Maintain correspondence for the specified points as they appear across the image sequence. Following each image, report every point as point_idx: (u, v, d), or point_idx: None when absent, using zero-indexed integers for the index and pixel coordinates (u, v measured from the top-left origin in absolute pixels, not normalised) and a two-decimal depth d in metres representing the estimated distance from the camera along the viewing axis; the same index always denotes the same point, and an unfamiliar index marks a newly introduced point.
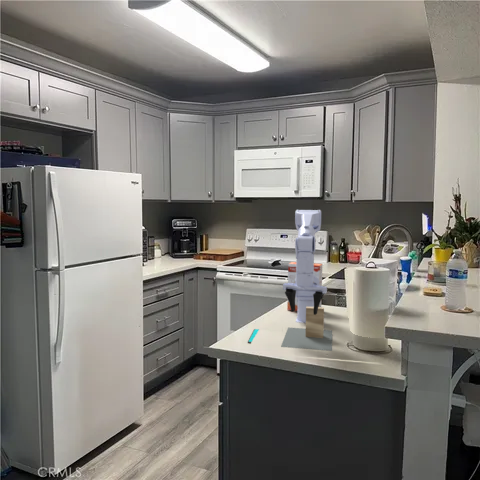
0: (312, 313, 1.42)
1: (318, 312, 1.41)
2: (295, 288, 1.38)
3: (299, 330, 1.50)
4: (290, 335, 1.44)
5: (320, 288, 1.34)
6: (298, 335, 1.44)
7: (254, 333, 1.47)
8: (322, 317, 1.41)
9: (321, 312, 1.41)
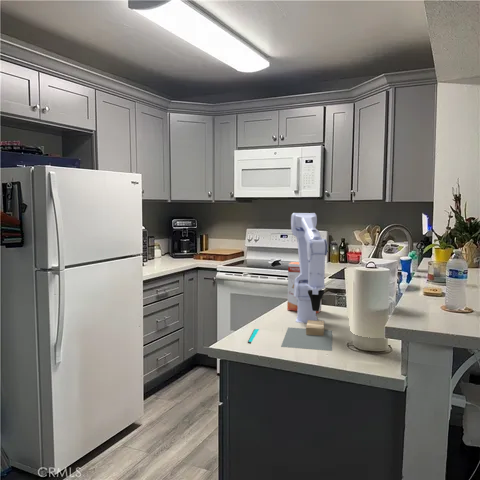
0: (313, 321, 1.53)
1: (319, 321, 1.53)
2: None
3: (299, 330, 1.50)
4: (290, 335, 1.44)
5: (312, 288, 1.43)
6: (298, 335, 1.44)
7: (254, 333, 1.47)
8: (322, 323, 1.51)
9: (321, 321, 1.53)
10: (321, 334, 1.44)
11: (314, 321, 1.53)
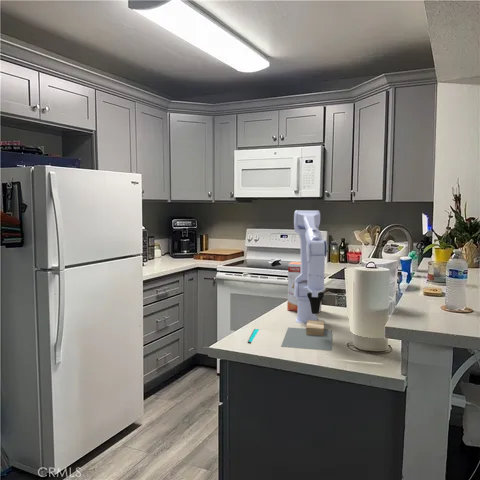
0: (313, 321, 1.53)
1: (319, 321, 1.53)
2: None
3: (299, 330, 1.50)
4: (290, 335, 1.44)
5: (311, 291, 1.39)
6: (298, 335, 1.44)
7: (254, 333, 1.47)
8: (322, 323, 1.51)
9: (321, 321, 1.53)
10: (321, 334, 1.44)
11: (314, 321, 1.53)
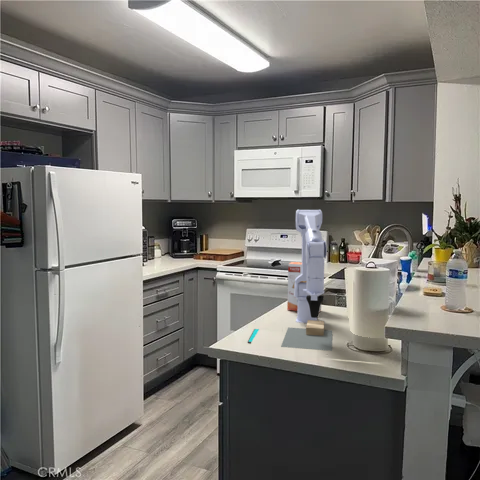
0: (313, 321, 1.53)
1: (319, 321, 1.53)
2: None
3: (299, 330, 1.50)
4: (290, 335, 1.44)
5: (310, 294, 1.34)
6: (298, 335, 1.44)
7: (254, 333, 1.47)
8: (322, 323, 1.51)
9: (321, 321, 1.53)
10: (321, 334, 1.44)
11: (314, 321, 1.53)
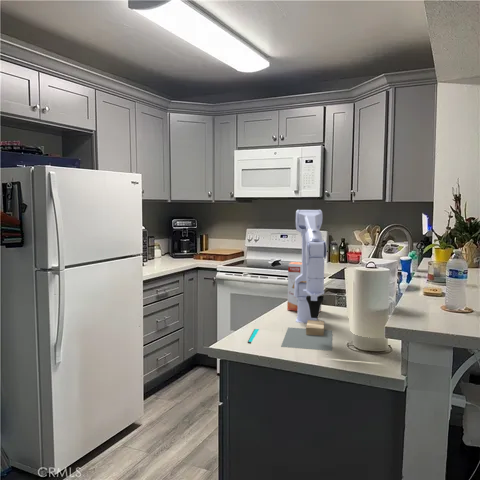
0: (313, 321, 1.53)
1: (319, 321, 1.53)
2: None
3: (299, 330, 1.50)
4: (290, 335, 1.44)
5: (310, 294, 1.34)
6: (298, 335, 1.44)
7: (254, 333, 1.47)
8: (322, 323, 1.51)
9: (321, 321, 1.53)
10: (321, 334, 1.44)
11: (314, 321, 1.53)
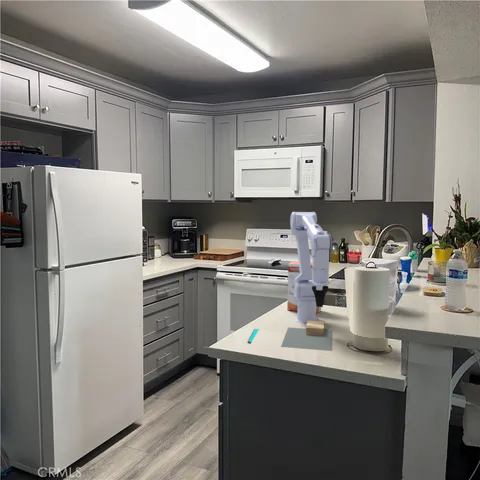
0: (313, 321, 1.53)
1: (319, 321, 1.53)
2: None
3: (299, 330, 1.50)
4: (290, 335, 1.44)
5: (315, 284, 1.41)
6: (298, 335, 1.44)
7: (254, 333, 1.47)
8: (322, 323, 1.51)
9: (321, 321, 1.53)
10: (321, 334, 1.44)
11: (314, 321, 1.53)
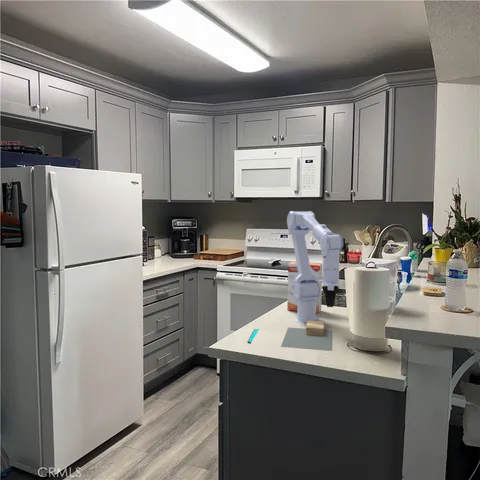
0: (313, 321, 1.53)
1: (319, 321, 1.53)
2: None
3: (299, 330, 1.50)
4: (290, 335, 1.44)
5: (327, 284, 1.41)
6: (298, 335, 1.44)
7: (254, 333, 1.47)
8: (322, 323, 1.51)
9: (321, 321, 1.53)
10: (321, 334, 1.44)
11: (314, 321, 1.53)
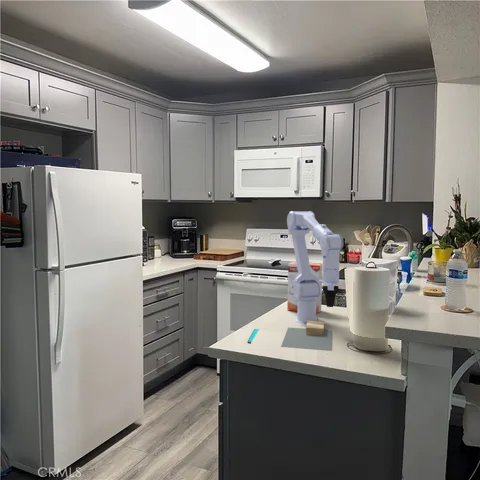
0: (313, 321, 1.53)
1: (319, 321, 1.53)
2: None
3: (299, 330, 1.50)
4: (290, 335, 1.44)
5: (327, 284, 1.41)
6: (298, 335, 1.44)
7: (254, 333, 1.47)
8: (322, 323, 1.51)
9: (321, 321, 1.53)
10: (321, 334, 1.44)
11: (314, 321, 1.53)
